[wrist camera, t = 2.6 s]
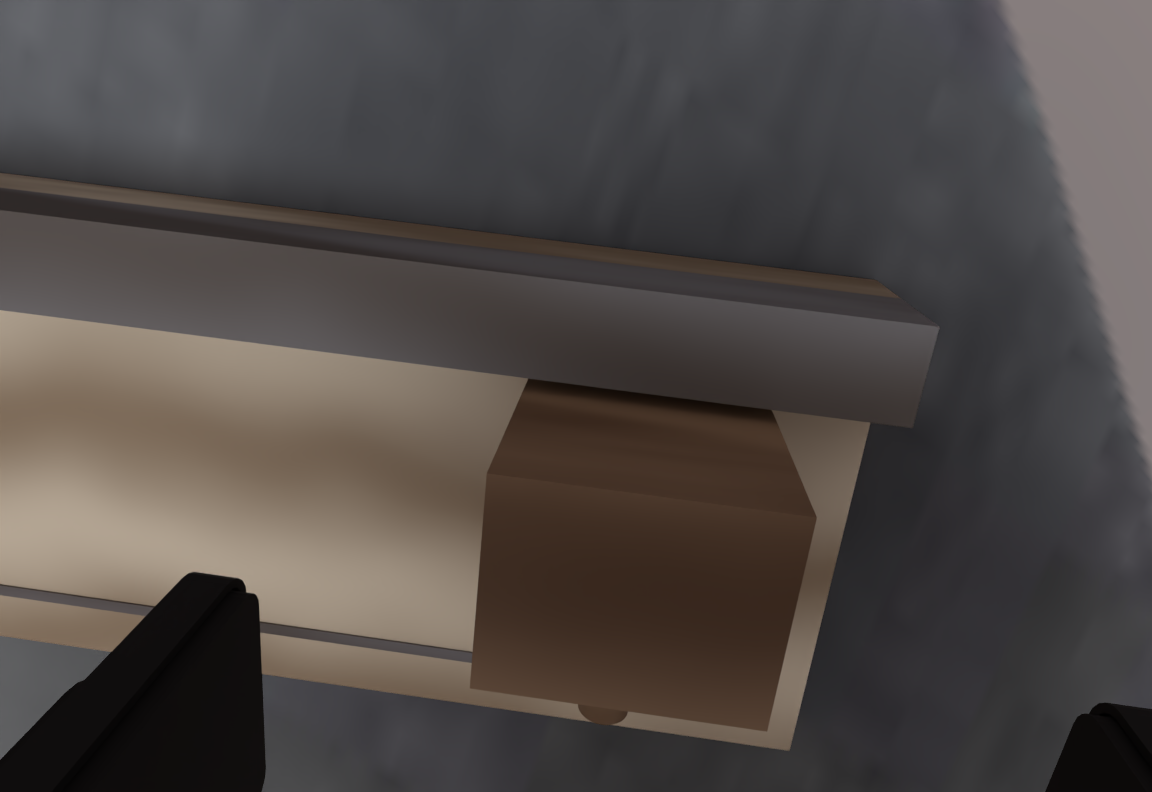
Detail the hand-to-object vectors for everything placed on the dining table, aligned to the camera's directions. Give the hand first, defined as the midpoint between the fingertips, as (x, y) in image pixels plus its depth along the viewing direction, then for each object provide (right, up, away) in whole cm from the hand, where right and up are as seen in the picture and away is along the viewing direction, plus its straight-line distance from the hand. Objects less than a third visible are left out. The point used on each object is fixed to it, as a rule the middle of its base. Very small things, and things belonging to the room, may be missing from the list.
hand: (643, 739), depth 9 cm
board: (-8, +3, +12) cm, 15 cm away
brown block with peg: (0, 0, +10) cm, 10 cm away
